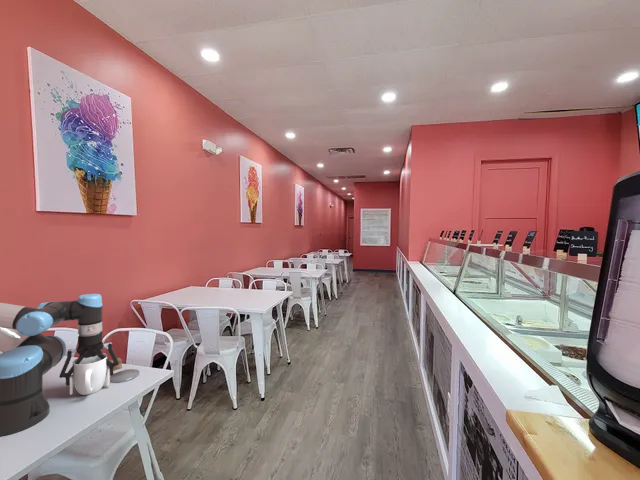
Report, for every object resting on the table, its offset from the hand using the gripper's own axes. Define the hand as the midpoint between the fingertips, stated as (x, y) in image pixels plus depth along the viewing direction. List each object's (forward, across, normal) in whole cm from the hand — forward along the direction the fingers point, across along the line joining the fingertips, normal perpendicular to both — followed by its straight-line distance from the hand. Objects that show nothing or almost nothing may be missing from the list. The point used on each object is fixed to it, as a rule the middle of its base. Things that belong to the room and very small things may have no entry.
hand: (90, 388), depth 113 cm
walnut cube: (+2, +8, +18) cm, 20 cm away
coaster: (+2, +11, +7) cm, 13 cm away
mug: (+2, 0, 0) cm, 2 cm away
